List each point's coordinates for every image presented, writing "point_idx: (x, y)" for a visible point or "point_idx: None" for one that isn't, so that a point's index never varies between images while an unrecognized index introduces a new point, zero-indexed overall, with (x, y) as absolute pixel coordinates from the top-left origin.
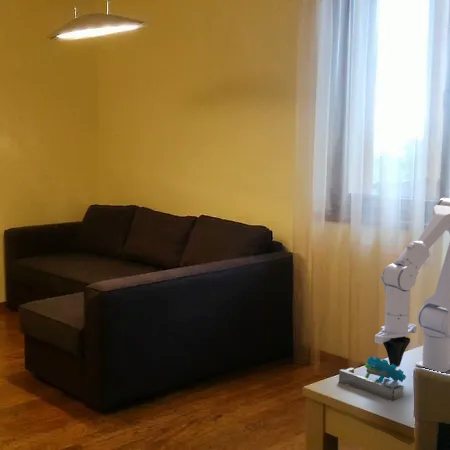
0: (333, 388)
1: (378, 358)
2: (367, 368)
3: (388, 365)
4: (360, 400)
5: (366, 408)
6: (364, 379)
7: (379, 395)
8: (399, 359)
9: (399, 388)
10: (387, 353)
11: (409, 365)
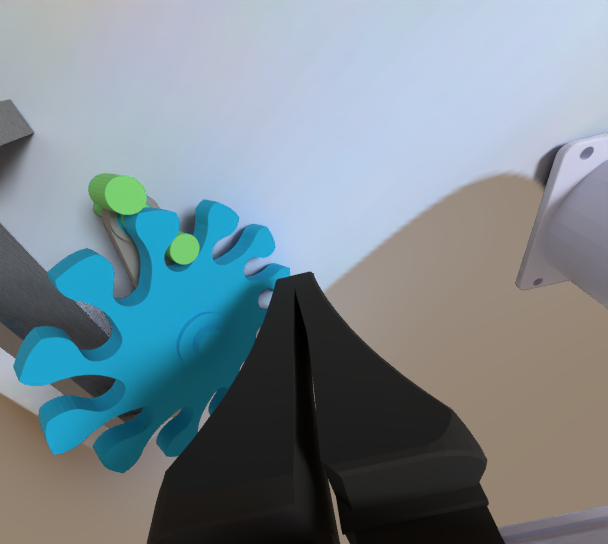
0: None
1: (75, 441)
2: (107, 214)
3: (167, 411)
4: (4, 358)
5: (15, 401)
6: (10, 353)
7: None
8: (310, 362)
9: (176, 412)
10: (256, 342)
11: (540, 121)
